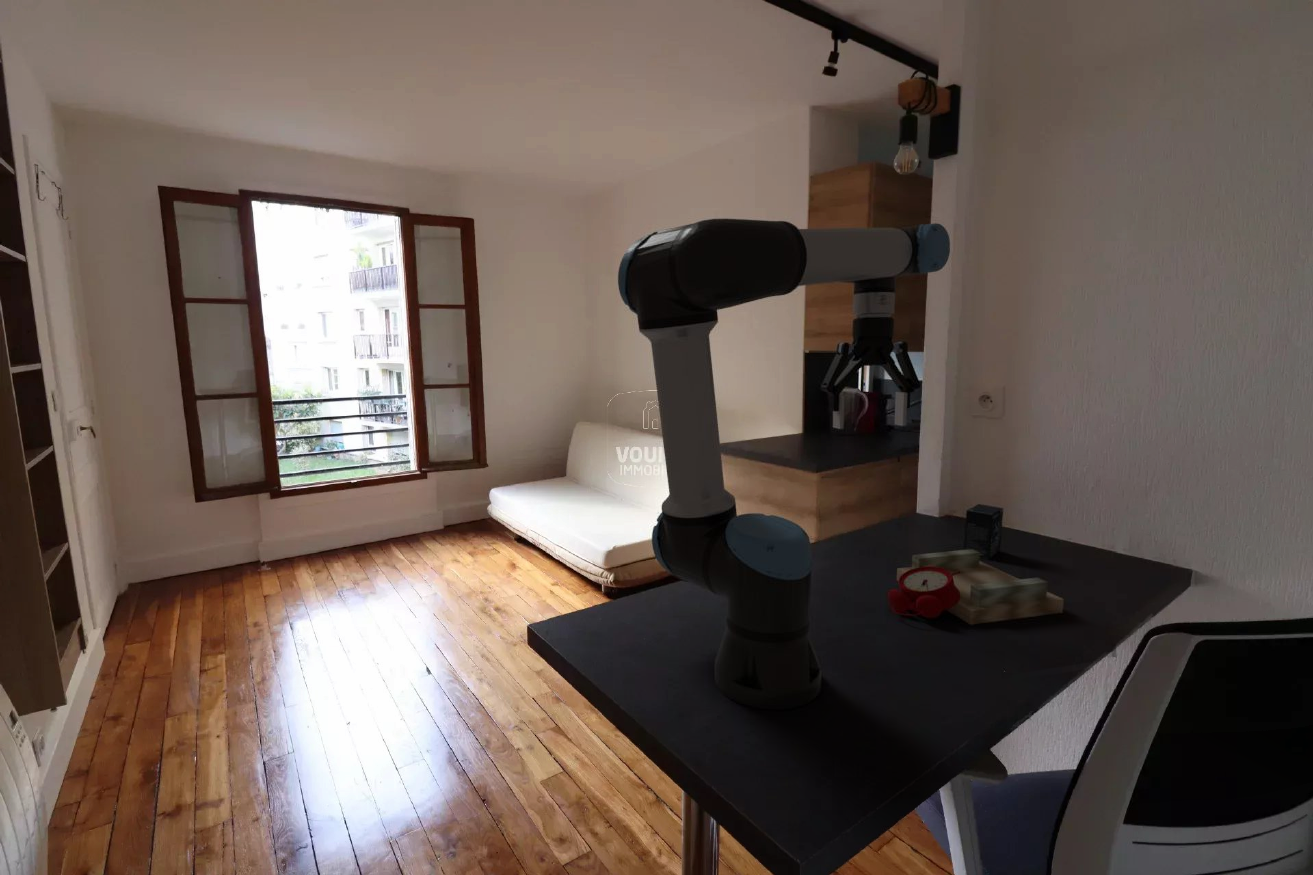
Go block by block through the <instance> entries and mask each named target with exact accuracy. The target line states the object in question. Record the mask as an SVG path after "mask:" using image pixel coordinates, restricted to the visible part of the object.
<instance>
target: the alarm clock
mask: <svg viewBox="0 0 1313 875" xmlns="http://www.w3.org/2000/svg"><path fill="white" fill-rule="evenodd" d="M958 573H961V572H960V571H958V572H957V573H953V574H951V573H950V572H948V571H947V570H945V569H942V568H938V567H923V566H920V567H919V568H915V569H911V570H909V571H907V572H905V573H904V574H902V575H901V576H900V578H899V581H898V587H899V590H898V589H896V588H894V589H891V590H890V591H889V592H888V594H887V601H888V603H889V605H890V607H891V608H892V611H893V612H894V613H896V614H897V615H902V616H905V617H906V616H908V617H915V616H918V615H921V616H922V617H924V618H927V619H935V618H938V617H939V616H940V615H941V614H942V612H943V611H947V610H946V609H949V608H951V607H953V606H954V605H956V604H957V603H958V601H959V600H960V592H959V590H958V589H957V588H956V586H955V585H954V579H953V575H955V574H958ZM908 611H911V612H916V613H913V614H912V613H911V614H910V613H909V614H908V613H906V612H908Z"/></svg>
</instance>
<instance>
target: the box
mask: <svg viewBox="0 0 1313 875" xmlns="http://www.w3.org/2000/svg"><path fill="white" fill-rule="evenodd" d="M1003 517H1004V507H999V506H992V505H987V504H981V503H978V504H976V505H974V506H972V507H971V508H968V509H966V513H965V525H964V526H965V527H964V538H963V539H964V540H963V541H964V542H963V550H968V549H973V550H975V551H978V552H980V558H979V559H983V560H988V561H989V559H992V558H993V557H995V555H997V554H998V553H1000V552H1001V547H1002V546H1001V544H1002V531H1003Z"/></svg>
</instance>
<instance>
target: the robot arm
mask: <svg viewBox="0 0 1313 875" xmlns="http://www.w3.org/2000/svg"><path fill="white" fill-rule="evenodd" d="M950 252H951V241H950V235H949V232H948V230H947V229H946V227H944V226H943V225H942V224H940V223H938V222H937V223H928V224H925V223H922V224H919V225H915V226H908V227H904V226H903V227H901V226H899V227H853V228H852V227H849V228H848V227H847V228H846V227H845V228H843V227H842V228H841V227H840V228H839V227H838V228H798V226H796V225H795V224H793V223H791V222H789V221H786V220H785V221H784V220H763V219H762V220H760V219H744V218H742V219H741V218H710V219H703V220H699V221H697V222H695V223H688V224H686V225H685V224H684V225H681V226H677V227H673V228H668V229H662V230H659V231H654V232H652V233H650V234H648V235H646V236H644V237H641V238H639V239H637V240H636V241H635V242H633V243H632V244H631V245H630V246H629V247H628V248H627V250H626V252H624V255H623V256H622V258H621V260H620V264H619V266H618V267H619V268H618V271H617V286H618V291H619V295H620V297H621V300H622V302H623V303H624V305H626V306H627V307H628V308H629V310H630V311H631V312H632V313H634V314H635V315H636V316H637V317H636V318H637V324H638V331H639V333H641V334H642V335H643V336H644V337H645V338H647V339H648V340H649V342H650V345H651V353H652V354H651V355H652V360H653V369H654V378H655V386H656V392H657V394H656V395H657V403H658V410H659V419H660V427H661V434H662V443H663V444H662V445H663V451H664V452H663V453H664V461H665V469H666V475H667V476H666V477H667V483H668V484H667V485H668V496H667V498H665V500H663V501H662V504H661V513H659V515H658V517H657V518H656V522H657V523H656V524H655V525H653V528H652V532H651V544H652V546H651V547H652V551H653V553H654V556H655V559H656V561H657V562H658V563H659V565H660V566H661V567H662V568H663V569H664V570H666V572H667V573H669V574H671V575H672V576H674V577H675V578H677V579H679V580H681V581H682V582H686V583H690V584H692V585H694V586H697V587H698V588H701V589H703V590H706V591H707V592H709V593H712V594H714V595H717V596H719V597H721V598H722V599H725V601H726V626H725V631H724V634H723V636H722V637H723V638H722V639H721V642H720V645H719V649H718V650H717V655H716V657H715V660H714V682H715V685H716V687H717V689H719V691H720V692H721V693H722V694H724V695H725V696H727V698H729V699H730V700H732V701H735V702H737V703H739V704H741V705H744V706H747V707H751V708H754V709H755V708H756V709H762V710H774V711H777V710H779V711H781V710H788V709H789V710H790V709H794V708H798V707H802V706H805V705H807V704H808V703H811V701H813V700H815V699H816V697H818V695H819V693H820V692H821V688H822V670H821V666H820V663H819V659H818V657H817V653H816V650H815V647H814V645H813V641H812V638H811V634H810V617H811V616H810V615H811V614H810V613H811V589H812V588H811V587H812V586H811V585H812V568H813V557H812V554H811V553H812V552H811V551H812V548H811V540H810V537H809V534H808V533H807V532H806V531H805V529H803V527H801V526H800V525H799V524H797V523H796V522H794V521H791V520H789V519H787V518H784V517H782V516H777V515H773V514H769V515H767V514H766V515H765V514H764V513H758V512H757V513H756V512H754V513H751V512H750V513H743V514H737V503H736V497H735V496H734V495H733V494H731V492H729V491H728V490H727V489H726V488H725V483H724V482H725V480H724V473H723V462H722V461H723V460H722V453H721V452H722V451H721V440H720V434H719V433H720V431H719V422H718V410H717V403H716V402H717V401H716V400H717V399H716V394H715V393H716V390H715V383H714V373H713V372H714V371H713V361H712V352H711V342H710V334H711V333H712V330H714V328H715V327H716V325H717V324H718V323H719V317H718V311H719V310H723V309H728V308H733V307H736V306H740V305H744V304H747V303H751V302H755V301H758V300H759V301H760V300H763V299H767V298H773V297H779V296H785V295H788V294H790V293H792V292H794V291H795V290H796V289H798V287H804V286H811V285H822V284H834V283H845V284H846V283H847V284H853V302H852V303H853V305H852V315H853V316H855V318H854V319H853V320H852V334H851V335H852V343H849V342H838V343H837V344H836V354H835V356H834V357H833V360H832V362H831V364H830V367H828V370H827V372H826V375H825V377H824V379H823V380H822V382H821V386H820V390H821V391H822V392H826V393H827V394H829V409H830V410H829V411H831V412H832V428H835V429H837V430H844V427H845V426H844V424H845V423H844V421H845V394H841V393H842V392H843V390H845V388H846V387H847V386H848V384H849V383H850V382H851V381H852V379H853V377H854V376H855V375H856V374H857V373H858V371H860V369H861V368H863V367H864V366H865V367H867V366H868V367H870V366H880V367H882V368H883V370H884V371H885V372H886V373H887V375H888V376H889V378H890V379H891V380H892V381H893V383H894V384H895V386H896V387H897V388H898V390H899V391H895V397H894V398H895V401H894V402H895V403H894V425H896V426H902V427H904V426H905V427H907V414H908V413H907V409H909V408H910V406H911V394H912V393H915V390H917V389H918V390H919V389H921V382H920V380H919V378H918V375H917V373H916V370H915V367H914V365H913V363H912V360H911V358H910V355H909V352H908V351H909V348H908V347H909V346H908V343H907V342H906V341H896V342H895V343H894V342H893V337H894V334H895V319H894V317H892V315H894V314H895V305H896V302H895V301H896V280H897V279H896V277H902V276H903V277H904V276H905V277H906V276H914V275H926V274H928V273H934V272H939V271H941V270H942V269H943V268H944V267H945V265H946V264H947V262H948V260H949V257H950ZM851 352H852V354H853V357H851V359H850V360H849V361H848V364H847V366H846V367H845V368H844V366H845V364H846V361H847V359H848V357H849V355H850V354H851ZM892 353H894V354H895V358H896V361H897V363H898V365H899V366H897V365H896V361H895V360H894V358H893V357H892V355H891V354H892ZM843 368H844V370H843ZM842 370H843V371H842ZM841 372H842V373H841Z"/></svg>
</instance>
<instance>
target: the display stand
mask: <svg viewBox="0 0 1313 875" xmlns="http://www.w3.org/2000/svg"><path fill="white" fill-rule="evenodd" d="M980 559H981V558H980V552H978V551H975V550H973V549H968V550H964V549H959V550H951V551H950V550H949V551H940V552H939V551H938V552H931V553H929V552H928V553H921V554H920V553H919V554H912V557H911V566H908V567H907V566H906V567H900V568H899V567H898V568H897V569H896V581H897V582H899V578H900V576H901V575H902V574H904V573H905V572H907V571H909V570H911V569H915V568H919V567H920V566H923V567H938V568H942V569H945V570H947V571H948V572H950V573H951V574H953V573H957V572H958V571H960V572H961V573H958V574H955V575H953V579H954V585H955V586H956V588H957V589H958V590H959V592H960V600H959V601H958V603H957V604H956V605H954V606H953V607H951V608H949V609H946V610H945V611H947V612H949V613H950V614H952V615H954V616H955V617H957V618H959V619H961V620H962V621H963V622H965V623H967V624H969V625H970V626H972V625H979V624H980V625H981V624H985V623H994V622H1001V621H1009V620H1015V619H1016V620H1017V619H1024V618H1031V617H1040V616H1046V615H1054V614H1062V613H1063V611H1064V600H1065V599H1064V598H1062V597H1060V596H1057V595H1056V594H1053V593H1051V592H1049V591H1048V581H1046V580H1044V579H1041V578H1040V577H1032V578H1031V577H1030V578H1022V579H1020V578H1018V577H1015V576H1013V575H1011V574H1009V573H1006V572H1004V571H1003V570H1000V569H998V568H996V567H994V566H991V565H990V564H986V562H983V561H981V560H980Z"/></svg>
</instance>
